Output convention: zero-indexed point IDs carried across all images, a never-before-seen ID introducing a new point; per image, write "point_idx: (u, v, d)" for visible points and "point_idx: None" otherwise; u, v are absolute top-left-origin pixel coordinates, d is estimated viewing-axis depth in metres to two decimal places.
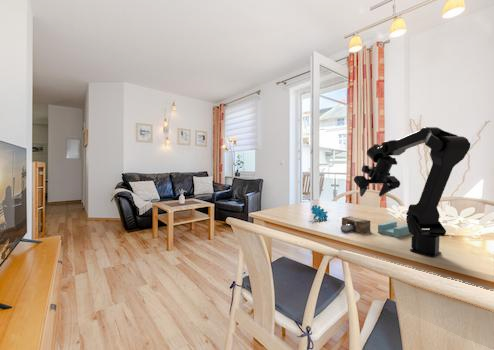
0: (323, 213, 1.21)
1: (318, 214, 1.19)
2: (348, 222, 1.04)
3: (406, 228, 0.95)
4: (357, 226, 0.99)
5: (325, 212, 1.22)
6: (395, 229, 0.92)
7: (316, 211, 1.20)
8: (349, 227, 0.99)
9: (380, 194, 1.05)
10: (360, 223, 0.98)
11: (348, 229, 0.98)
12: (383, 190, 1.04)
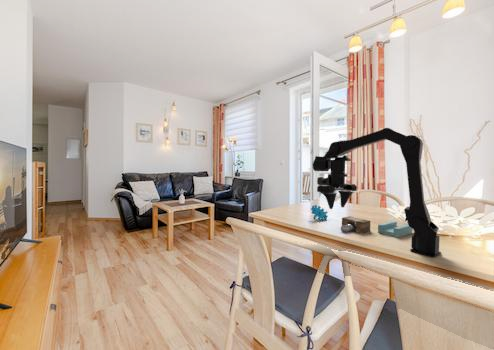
0: (323, 213, 1.21)
1: (318, 214, 1.19)
2: (348, 222, 1.04)
3: (406, 228, 0.95)
4: (357, 226, 0.99)
5: (325, 212, 1.22)
6: (395, 229, 0.92)
7: (316, 211, 1.20)
8: (349, 227, 0.99)
9: (342, 204, 0.97)
10: (360, 223, 0.98)
11: (348, 229, 0.98)
12: (343, 198, 0.97)
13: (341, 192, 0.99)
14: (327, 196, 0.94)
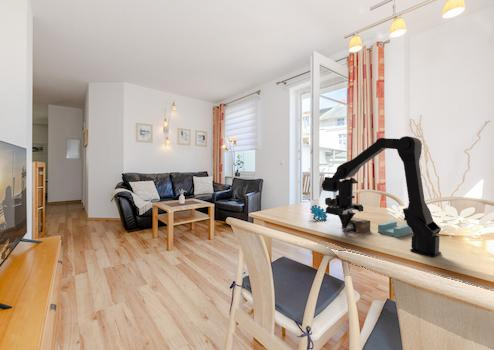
0: (323, 213, 1.21)
1: (317, 214, 1.19)
2: None
3: (406, 228, 0.95)
4: (357, 226, 0.99)
5: (325, 212, 1.23)
6: (395, 229, 0.92)
7: (315, 211, 1.20)
8: (350, 225, 1.00)
9: None
10: (360, 223, 0.98)
11: (349, 227, 0.99)
12: None
13: None
14: (341, 216, 0.99)
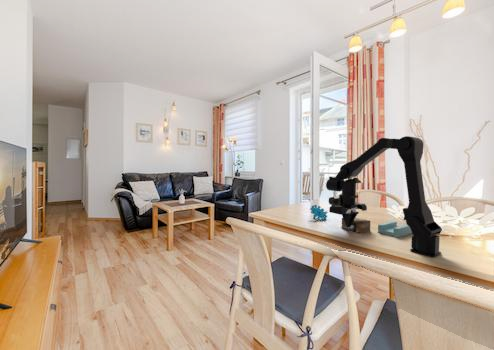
0: (323, 213, 1.21)
1: (317, 214, 1.19)
2: None
3: (406, 228, 0.95)
4: (357, 226, 0.99)
5: (325, 212, 1.23)
6: (395, 229, 0.92)
7: (315, 211, 1.20)
8: (353, 225, 1.01)
9: None
10: (360, 223, 0.98)
11: (353, 226, 1.01)
12: None
13: None
14: (344, 215, 1.00)
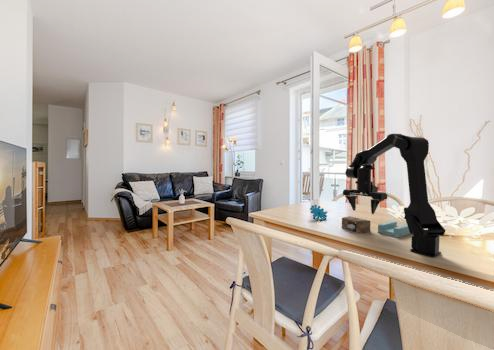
0: (322, 213, 1.22)
1: (317, 214, 1.20)
2: (348, 222, 1.04)
3: (406, 228, 0.95)
4: (357, 226, 0.99)
5: (325, 212, 1.23)
6: (395, 229, 0.92)
7: (315, 211, 1.21)
8: (355, 227, 1.00)
9: None
10: (360, 223, 0.98)
11: (354, 228, 1.00)
12: None
13: None
14: None
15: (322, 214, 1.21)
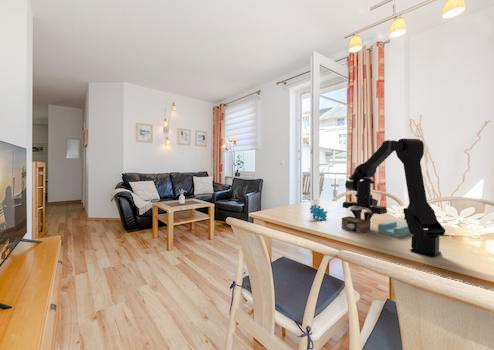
0: (322, 213, 1.22)
1: (317, 214, 1.20)
2: (348, 222, 1.04)
3: (406, 228, 0.95)
4: (357, 226, 0.99)
5: (325, 212, 1.23)
6: (395, 229, 0.92)
7: (315, 211, 1.21)
8: (354, 226, 1.00)
9: None
10: (360, 223, 0.98)
11: (354, 227, 1.00)
12: None
13: None
14: None
15: (322, 214, 1.21)
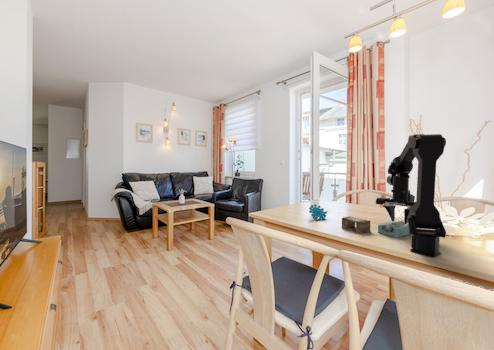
0: (322, 213, 1.22)
1: (316, 213, 1.21)
2: (348, 222, 1.04)
3: (406, 228, 0.95)
4: (357, 226, 0.99)
5: (324, 212, 1.23)
6: (395, 229, 0.92)
7: (314, 210, 1.22)
8: (393, 226, 0.94)
9: None
10: (360, 223, 0.98)
11: (392, 228, 0.94)
12: None
13: None
14: None
15: (321, 214, 1.22)
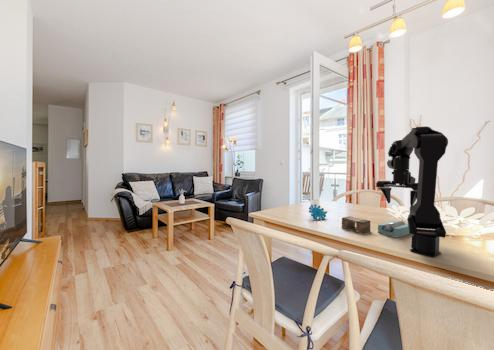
0: (321, 212, 1.22)
1: (315, 213, 1.21)
2: (348, 222, 1.04)
3: (406, 228, 0.95)
4: (357, 226, 0.99)
5: (324, 212, 1.23)
6: (395, 229, 0.92)
7: (314, 210, 1.22)
8: (393, 226, 0.94)
9: None
10: (360, 223, 0.98)
11: (392, 228, 0.94)
12: None
13: None
14: None
15: (321, 214, 1.22)
